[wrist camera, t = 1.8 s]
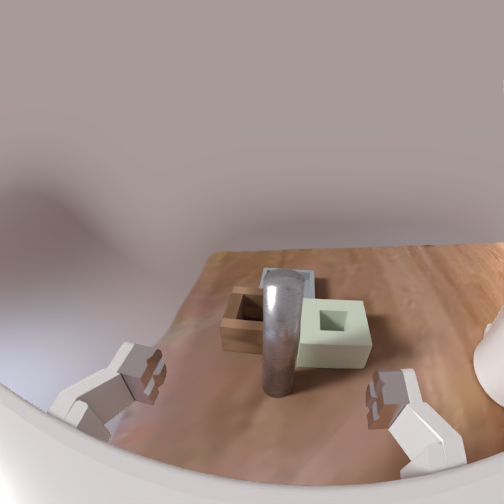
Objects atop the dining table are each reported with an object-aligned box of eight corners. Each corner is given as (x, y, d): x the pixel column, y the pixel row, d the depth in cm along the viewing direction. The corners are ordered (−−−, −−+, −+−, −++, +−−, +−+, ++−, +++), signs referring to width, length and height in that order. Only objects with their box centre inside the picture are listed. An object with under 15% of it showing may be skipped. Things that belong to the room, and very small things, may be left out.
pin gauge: (292, 375, 30) (304, 269, 24) (290, 398, 27) (304, 293, 21) (264, 373, 31) (265, 267, 24) (260, 396, 28) (260, 290, 21)
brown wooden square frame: (292, 313, 40) (294, 290, 38) (288, 356, 33) (291, 332, 31) (235, 309, 41) (234, 286, 39) (222, 350, 34) (220, 326, 32)
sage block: (356, 324, 37) (362, 300, 35) (363, 368, 30) (372, 345, 28) (299, 321, 38) (301, 298, 36) (296, 366, 31) (300, 343, 29)
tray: (312, 281, 47) (313, 270, 46) (313, 312, 40) (315, 301, 39) (263, 278, 48) (264, 267, 47) (257, 308, 41) (257, 297, 40)
